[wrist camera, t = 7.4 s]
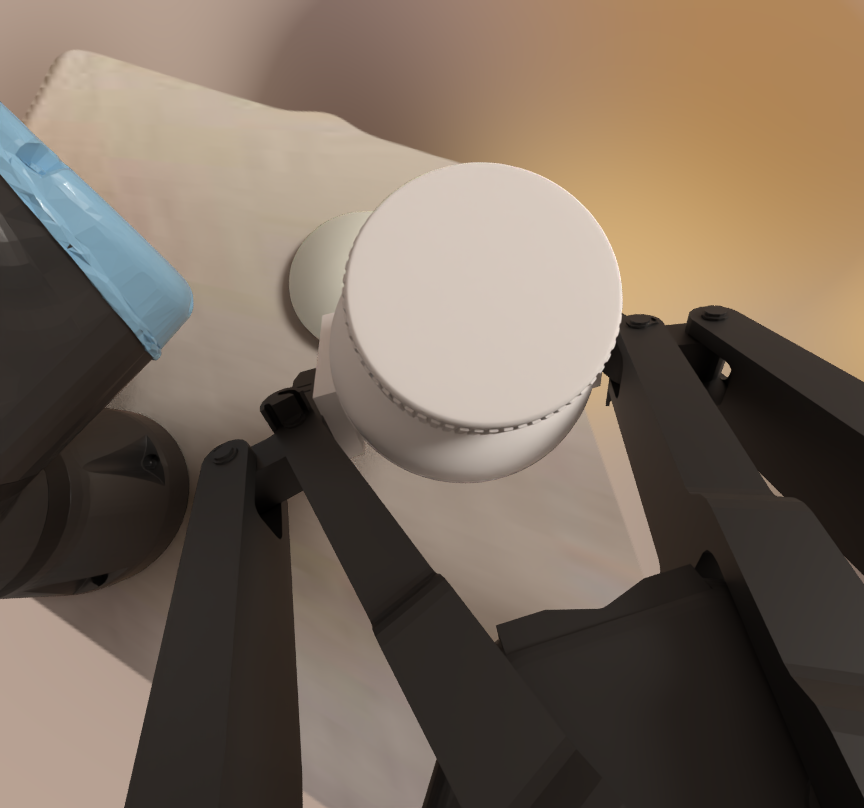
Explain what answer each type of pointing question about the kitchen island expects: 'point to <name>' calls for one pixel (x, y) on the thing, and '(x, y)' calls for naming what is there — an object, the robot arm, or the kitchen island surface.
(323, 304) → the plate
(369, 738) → the kitchen island surface
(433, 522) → the kitchen island surface
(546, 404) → the pill bottle
